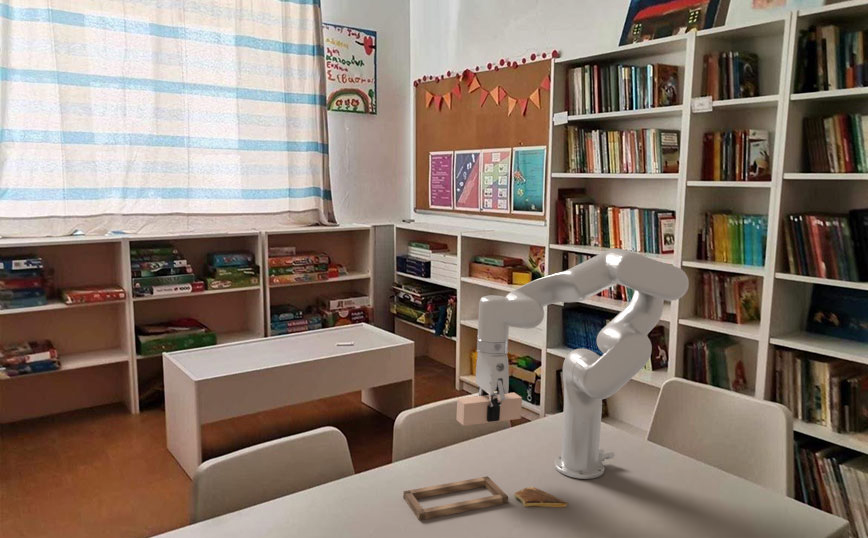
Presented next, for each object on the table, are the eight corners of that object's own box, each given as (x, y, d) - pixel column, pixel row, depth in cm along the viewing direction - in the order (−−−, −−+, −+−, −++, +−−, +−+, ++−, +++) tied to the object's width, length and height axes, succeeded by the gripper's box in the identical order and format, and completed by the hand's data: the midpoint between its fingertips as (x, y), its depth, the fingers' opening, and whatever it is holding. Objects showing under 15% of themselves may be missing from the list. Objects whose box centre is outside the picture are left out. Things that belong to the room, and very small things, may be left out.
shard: (568, 509, 147) (568, 501, 147) (547, 520, 142) (548, 513, 142) (531, 491, 155) (531, 484, 155) (510, 501, 150) (510, 494, 150)
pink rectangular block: (512, 412, 165) (514, 392, 164) (520, 418, 161) (522, 397, 160) (456, 419, 158) (457, 398, 158) (463, 425, 155) (464, 404, 154)
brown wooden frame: (487, 482, 158) (487, 476, 158) (507, 502, 148) (508, 496, 148) (403, 497, 150) (403, 491, 150) (419, 520, 140) (419, 513, 140)
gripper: (522, 354, 150) (518, 428, 153) (491, 336, 166) (488, 404, 169) (493, 356, 148) (489, 431, 150) (464, 338, 163) (461, 407, 166)
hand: (488, 416), depth 160 cm, fingers closed on pink rectangular block, 4 cm apart
